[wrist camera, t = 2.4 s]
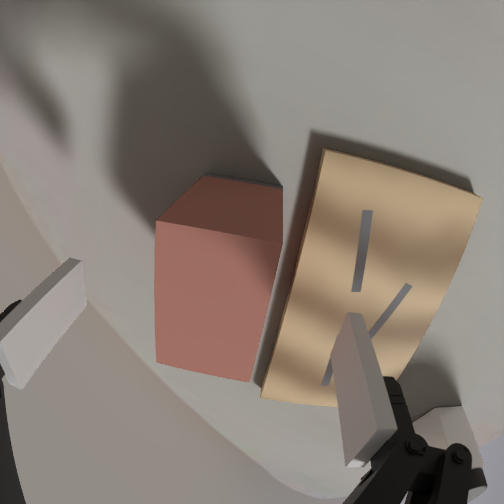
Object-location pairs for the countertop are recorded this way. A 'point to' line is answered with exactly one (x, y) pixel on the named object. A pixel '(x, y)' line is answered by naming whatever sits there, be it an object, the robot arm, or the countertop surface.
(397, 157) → the countertop surface
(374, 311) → the board
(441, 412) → the jar
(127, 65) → the countertop surface
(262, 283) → the block
